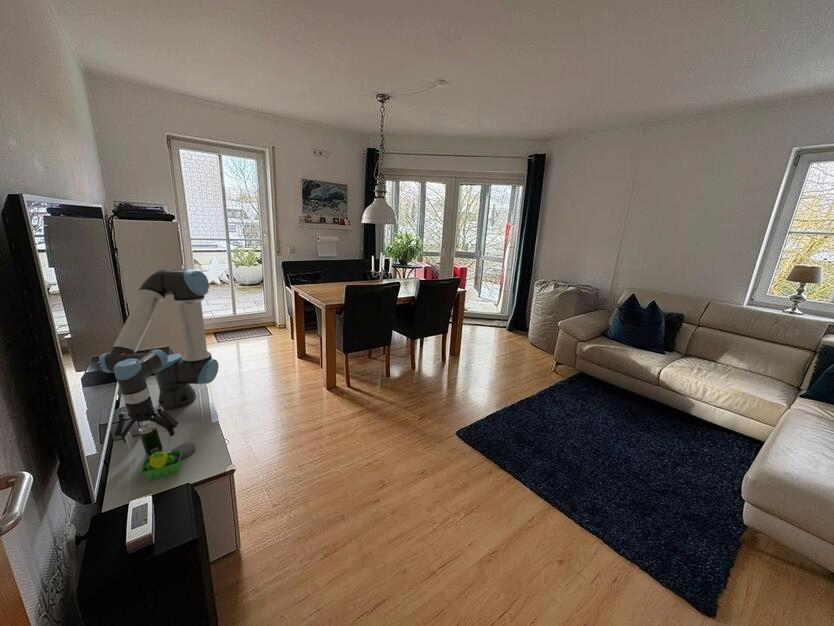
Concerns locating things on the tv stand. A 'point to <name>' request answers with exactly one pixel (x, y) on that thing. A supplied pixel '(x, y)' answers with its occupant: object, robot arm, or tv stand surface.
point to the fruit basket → (161, 464)
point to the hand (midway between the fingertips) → (152, 445)
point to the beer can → (150, 439)
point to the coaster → (185, 450)
